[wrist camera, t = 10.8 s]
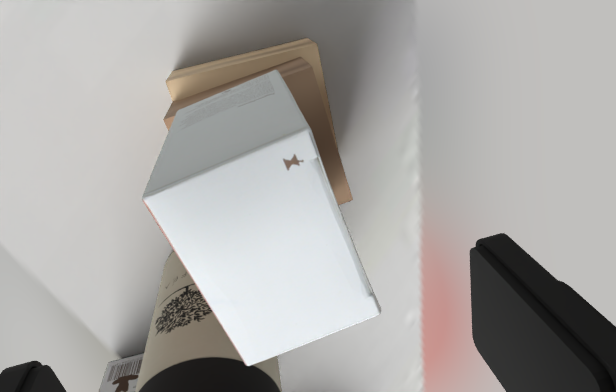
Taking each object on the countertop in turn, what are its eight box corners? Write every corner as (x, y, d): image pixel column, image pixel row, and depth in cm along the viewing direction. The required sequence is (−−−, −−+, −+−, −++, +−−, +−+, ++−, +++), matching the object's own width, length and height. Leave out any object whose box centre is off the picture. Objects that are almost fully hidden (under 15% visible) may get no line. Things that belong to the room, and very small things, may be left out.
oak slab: (173, 70, 30) (165, 81, 26) (306, 37, 30) (316, 43, 26) (214, 191, 33) (212, 216, 30) (331, 160, 34) (343, 181, 30)
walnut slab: (172, 102, 26) (163, 119, 23) (301, 56, 27) (312, 66, 23) (224, 215, 30) (223, 246, 26) (337, 174, 30) (352, 199, 26)
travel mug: (270, 307, 38) (301, 540, 22) (174, 322, 37) (132, 577, 21) (259, 224, 35) (286, 427, 19) (153, 238, 34) (85, 465, 18)
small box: (175, 108, 23) (133, 193, 13) (278, 65, 23) (309, 121, 13) (241, 235, 26) (244, 374, 17) (330, 198, 26) (385, 318, 17)
